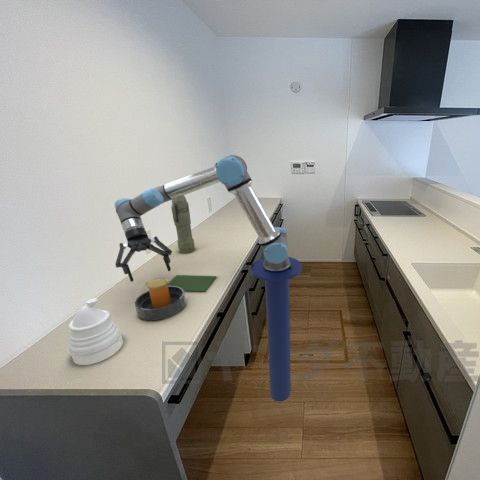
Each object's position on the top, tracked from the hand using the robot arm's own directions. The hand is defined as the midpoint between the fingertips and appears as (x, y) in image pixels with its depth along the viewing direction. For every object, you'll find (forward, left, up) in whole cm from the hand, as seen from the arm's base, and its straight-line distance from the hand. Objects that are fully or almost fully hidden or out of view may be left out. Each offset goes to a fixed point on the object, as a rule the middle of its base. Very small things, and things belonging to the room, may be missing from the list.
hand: (151, 275), depth 108 cm
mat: (-7, -15, -12) cm, 21 cm away
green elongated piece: (+13, -54, -13) cm, 57 cm away
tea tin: (-5, +5, -12) cm, 14 cm away
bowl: (-5, +5, -12) cm, 15 cm away
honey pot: (+3, +28, -13) cm, 31 cm away
